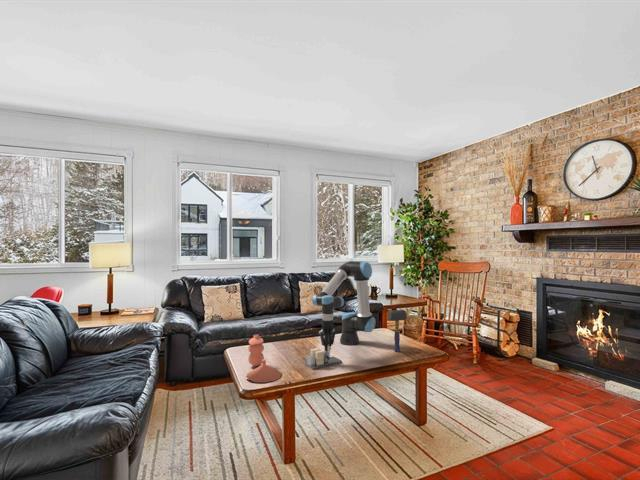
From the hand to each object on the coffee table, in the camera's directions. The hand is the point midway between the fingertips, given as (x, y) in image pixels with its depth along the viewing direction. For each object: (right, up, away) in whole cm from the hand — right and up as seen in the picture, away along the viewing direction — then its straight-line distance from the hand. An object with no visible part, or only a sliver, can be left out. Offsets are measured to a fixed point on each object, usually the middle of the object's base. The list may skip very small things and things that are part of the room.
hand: (327, 355), depth 225 cm
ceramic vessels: (-41, -5, -14) cm, 44 cm away
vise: (-3, -5, -2) cm, 5 cm away
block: (-7, -3, -4) cm, 9 cm away
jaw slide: (-1, -3, -2) cm, 4 cm away
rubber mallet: (+50, -5, +22) cm, 55 cm away
